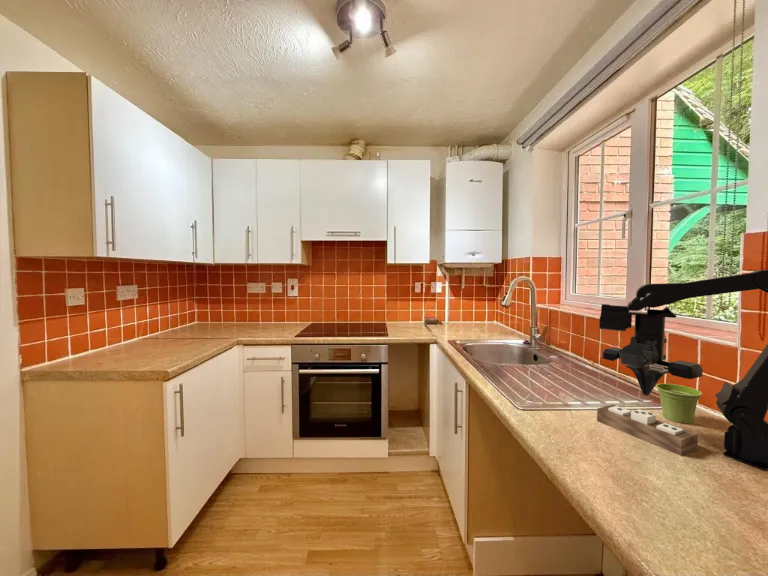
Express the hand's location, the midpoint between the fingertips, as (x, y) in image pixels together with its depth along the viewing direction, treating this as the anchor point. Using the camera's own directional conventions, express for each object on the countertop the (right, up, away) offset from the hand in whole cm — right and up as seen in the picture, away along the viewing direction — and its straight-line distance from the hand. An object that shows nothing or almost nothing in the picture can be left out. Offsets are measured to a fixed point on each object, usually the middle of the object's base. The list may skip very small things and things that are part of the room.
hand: (646, 395), depth 78 cm
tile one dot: (-2, -8, +6) cm, 11 cm away
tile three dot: (0, -7, +1) cm, 7 cm away
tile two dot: (+2, -9, -4) cm, 10 cm away
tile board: (0, -10, +1) cm, 10 cm away
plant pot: (+17, -10, +9) cm, 22 cm away
